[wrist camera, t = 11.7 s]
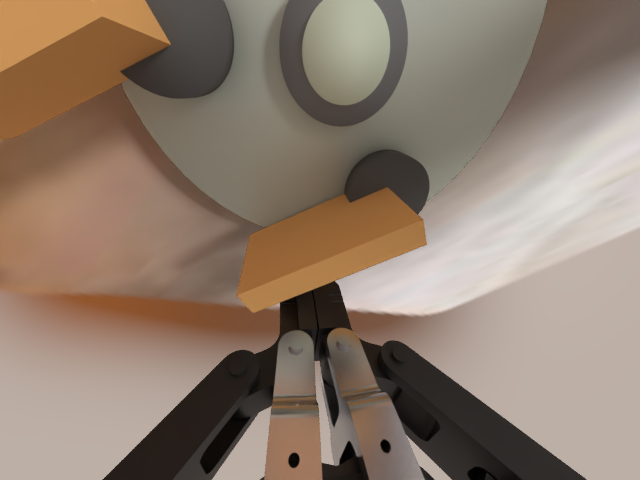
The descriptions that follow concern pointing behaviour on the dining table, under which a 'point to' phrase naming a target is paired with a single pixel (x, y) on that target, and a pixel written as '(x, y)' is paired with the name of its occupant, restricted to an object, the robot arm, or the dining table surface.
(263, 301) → the knob
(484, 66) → the tribrach plate
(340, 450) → the robot arm
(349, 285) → the dining table surface
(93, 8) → the knob
